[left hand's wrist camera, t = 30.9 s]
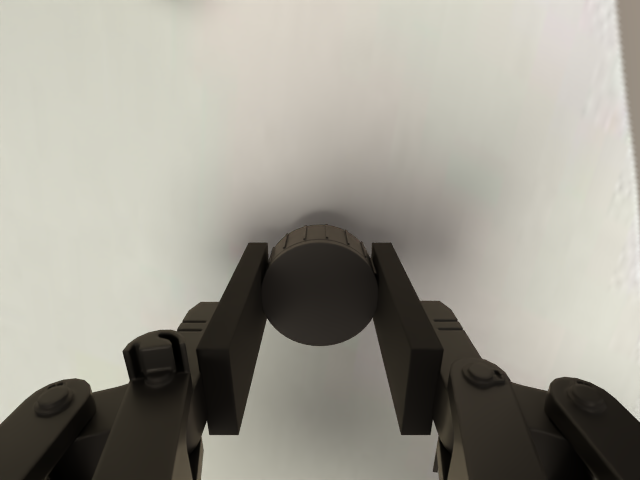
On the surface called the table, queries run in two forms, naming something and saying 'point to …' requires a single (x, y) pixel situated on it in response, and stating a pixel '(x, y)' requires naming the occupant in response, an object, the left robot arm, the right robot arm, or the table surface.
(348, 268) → the cap
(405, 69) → the table surface
